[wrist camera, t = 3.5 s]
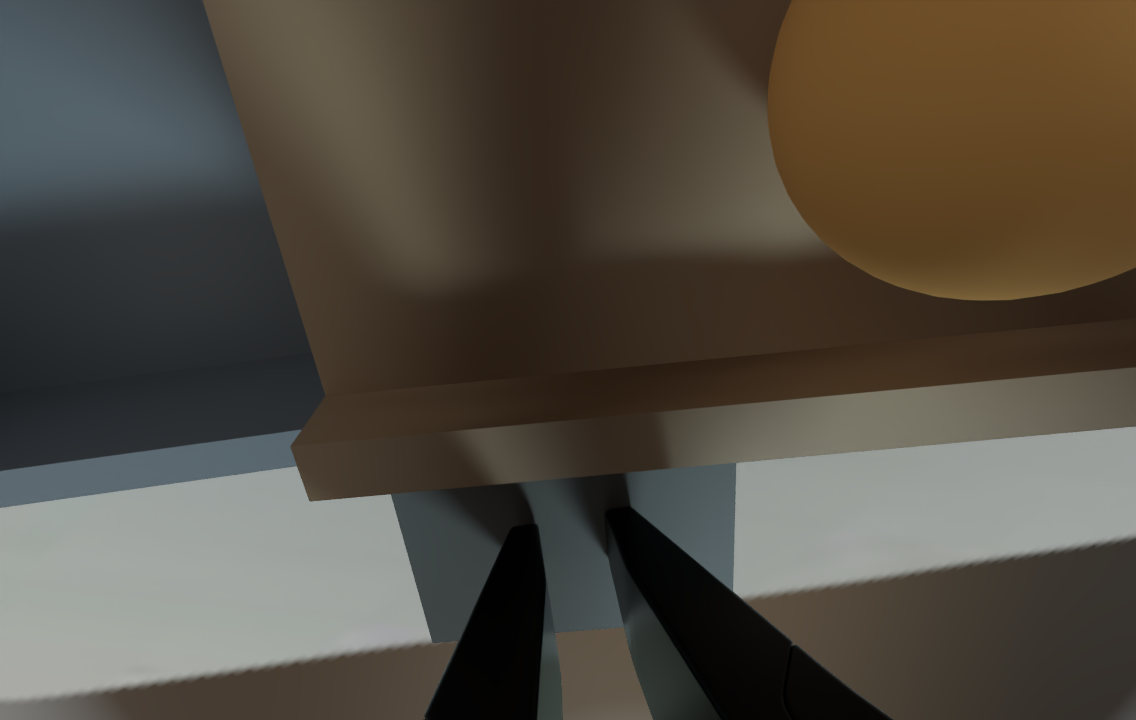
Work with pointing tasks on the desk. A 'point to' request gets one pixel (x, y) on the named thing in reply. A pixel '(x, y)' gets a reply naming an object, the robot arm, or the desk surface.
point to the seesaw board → (597, 283)
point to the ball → (962, 139)
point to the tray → (135, 260)
